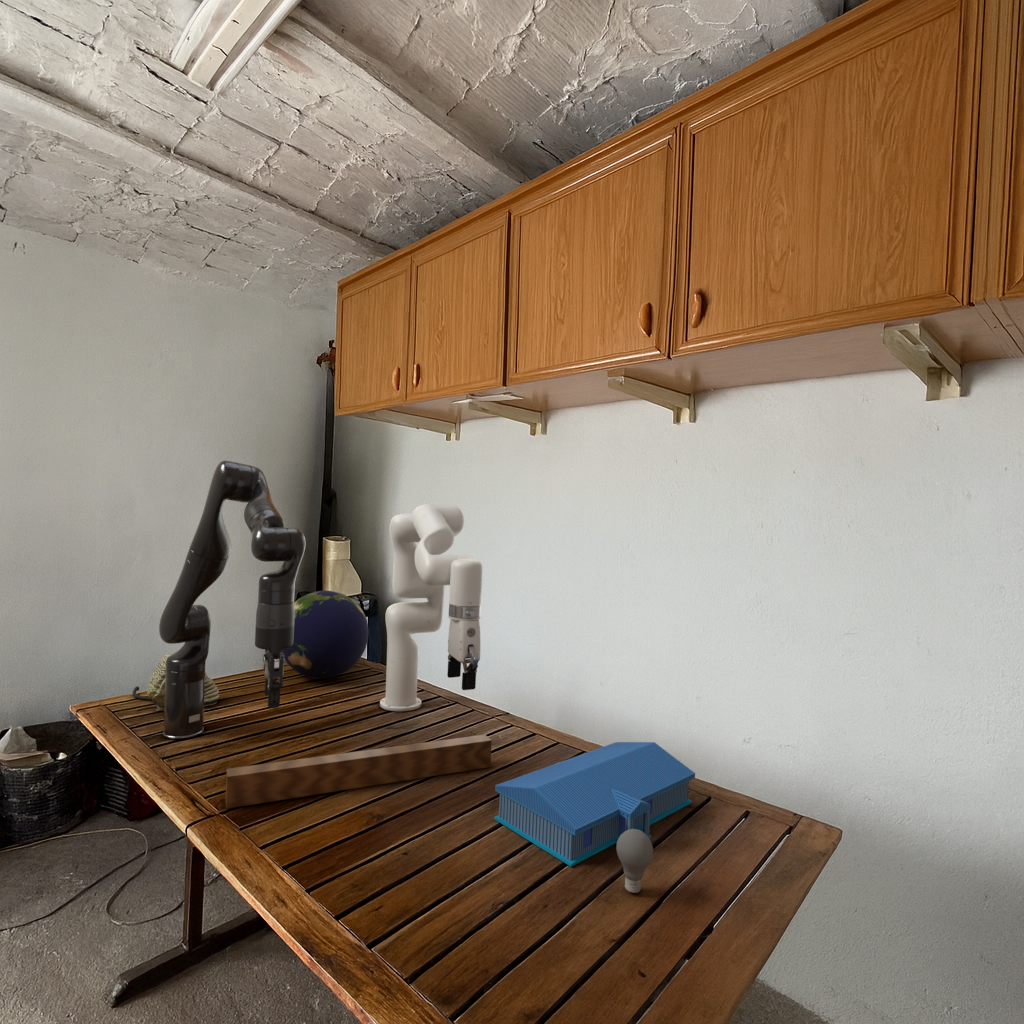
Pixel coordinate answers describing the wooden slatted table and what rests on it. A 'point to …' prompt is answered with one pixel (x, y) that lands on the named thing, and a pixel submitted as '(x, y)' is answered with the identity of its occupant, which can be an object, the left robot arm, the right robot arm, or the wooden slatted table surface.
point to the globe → (326, 635)
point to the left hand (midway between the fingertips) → (271, 700)
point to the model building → (594, 798)
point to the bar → (354, 770)
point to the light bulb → (634, 857)
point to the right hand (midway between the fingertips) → (460, 683)
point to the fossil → (158, 687)
